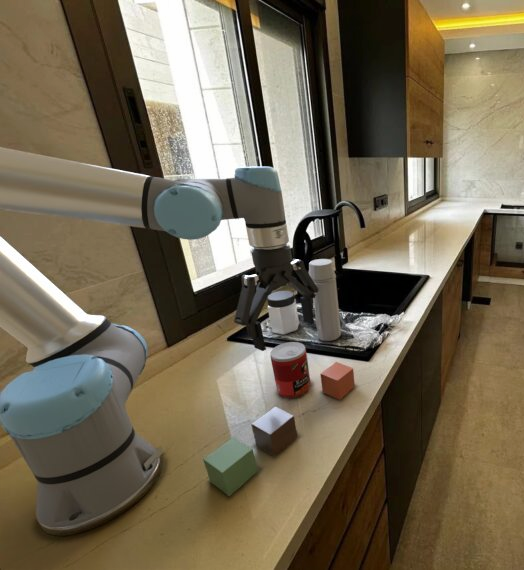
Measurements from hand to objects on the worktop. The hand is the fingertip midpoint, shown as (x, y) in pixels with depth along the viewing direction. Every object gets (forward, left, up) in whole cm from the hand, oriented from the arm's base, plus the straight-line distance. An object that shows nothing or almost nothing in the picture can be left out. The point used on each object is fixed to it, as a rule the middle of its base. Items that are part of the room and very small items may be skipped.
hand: (286, 334), depth 76 cm
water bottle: (-10, +22, -15) cm, 28 cm away
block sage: (+10, -22, -15) cm, 29 cm away
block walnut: (+10, -13, -15) cm, 22 cm away
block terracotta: (+10, +5, -15) cm, 19 cm away
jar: (-27, +20, -15) cm, 37 cm away
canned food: (0, 0, -15) cm, 15 cm away
